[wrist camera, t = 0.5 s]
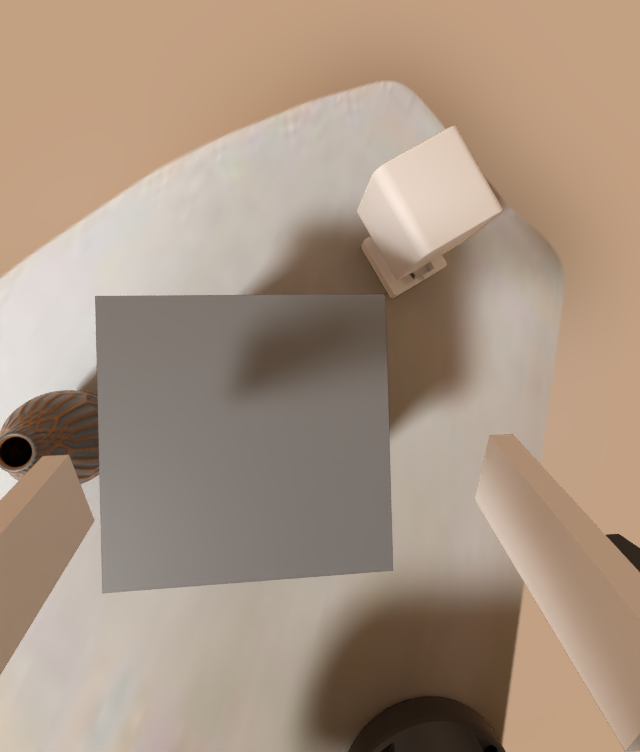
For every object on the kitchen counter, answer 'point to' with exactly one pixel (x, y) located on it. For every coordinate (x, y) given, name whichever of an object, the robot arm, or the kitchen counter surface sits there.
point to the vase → (52, 433)
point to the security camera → (423, 209)
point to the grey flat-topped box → (242, 438)
